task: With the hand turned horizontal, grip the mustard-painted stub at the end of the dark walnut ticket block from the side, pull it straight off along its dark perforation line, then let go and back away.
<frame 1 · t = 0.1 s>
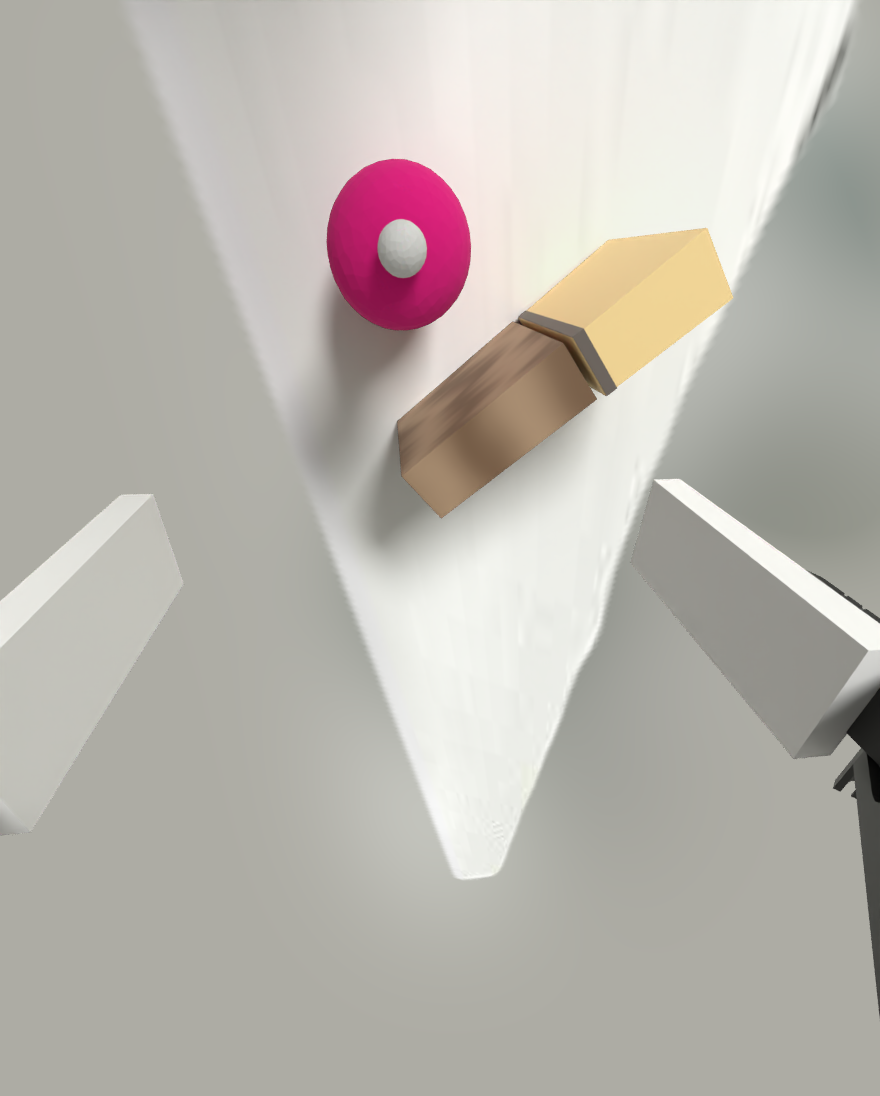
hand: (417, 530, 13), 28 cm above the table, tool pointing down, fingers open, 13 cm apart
ticket block: (467, 392, 38), on the table
pepper mill: (393, 258, 33), on the table
stub: (607, 309, 30), point 6 cm above the table, slide at 0.0 cm
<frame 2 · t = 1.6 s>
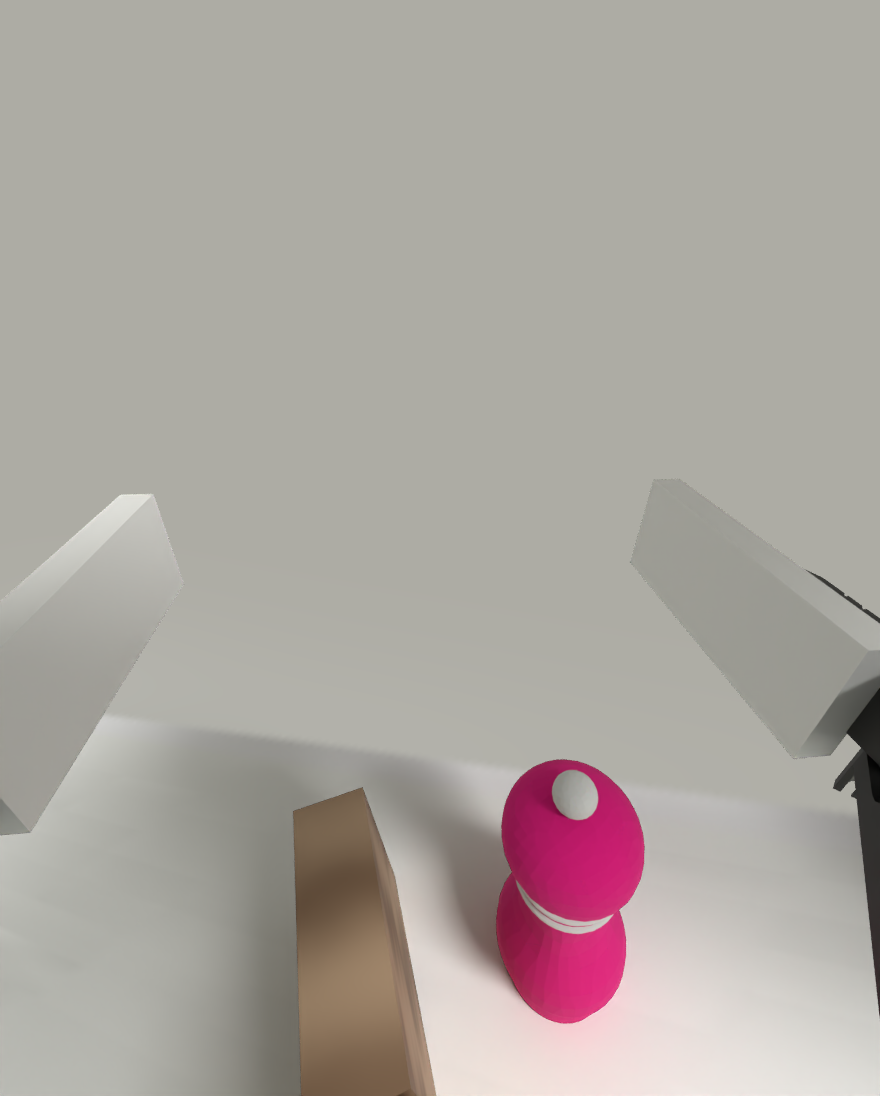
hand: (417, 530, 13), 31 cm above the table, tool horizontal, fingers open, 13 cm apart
ticket block: (383, 993, 28), on the table
pepper mill: (555, 955, 29), on the table
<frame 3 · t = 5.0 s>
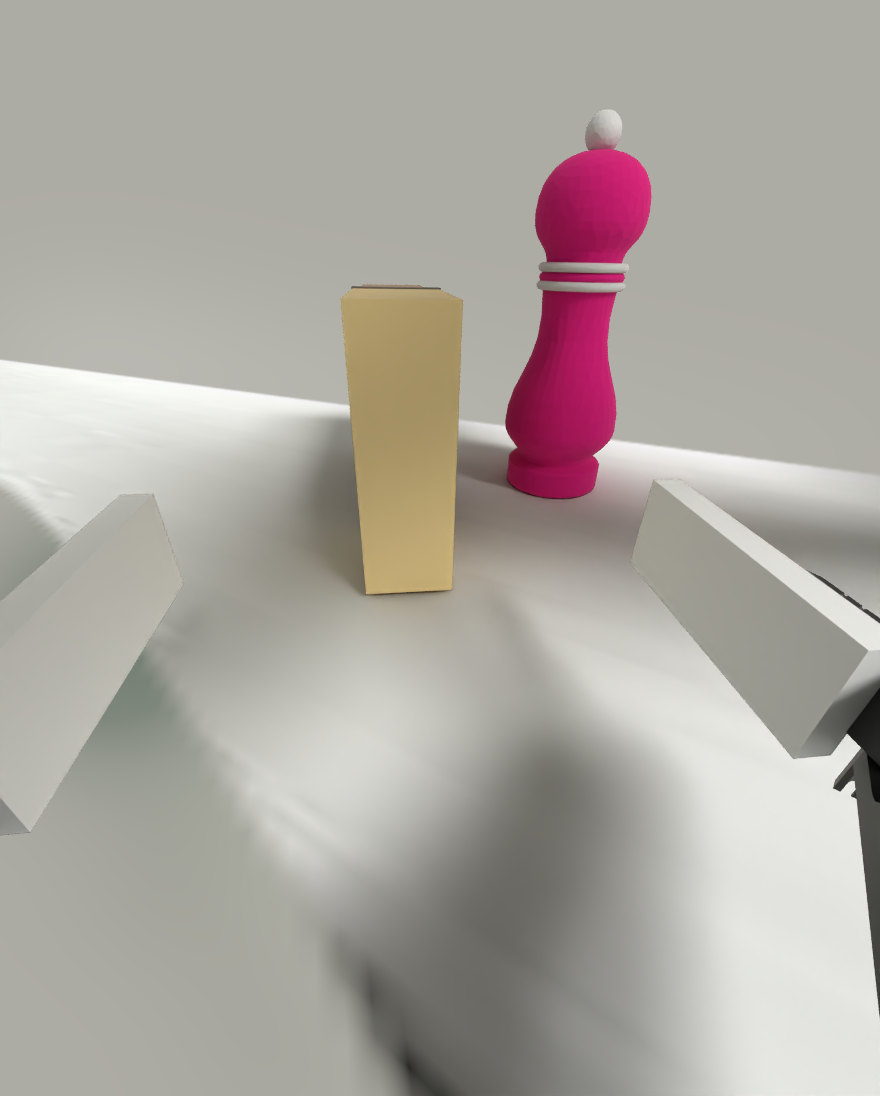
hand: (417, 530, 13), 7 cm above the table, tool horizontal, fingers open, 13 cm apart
pepper mill: (549, 483, 33), on the table
stub: (402, 438, 22), point 6 cm above the table, slide at 0.0 cm
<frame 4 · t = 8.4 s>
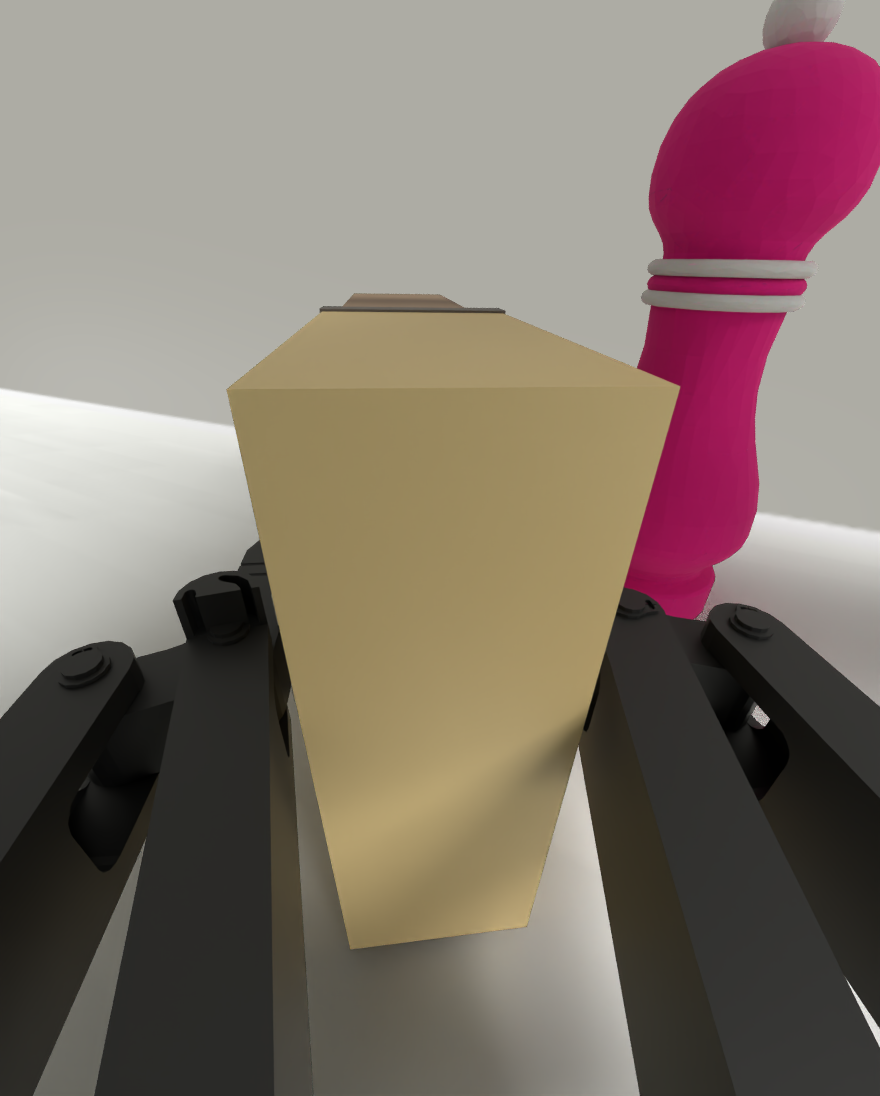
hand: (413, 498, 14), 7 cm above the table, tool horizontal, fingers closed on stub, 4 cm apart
ticket block: (408, 577, 23), on the table
pepper mill: (631, 589, 23), on the table
stub: (426, 617, 11), point 6 cm above the table, slide at 0.0 cm, touching gripper
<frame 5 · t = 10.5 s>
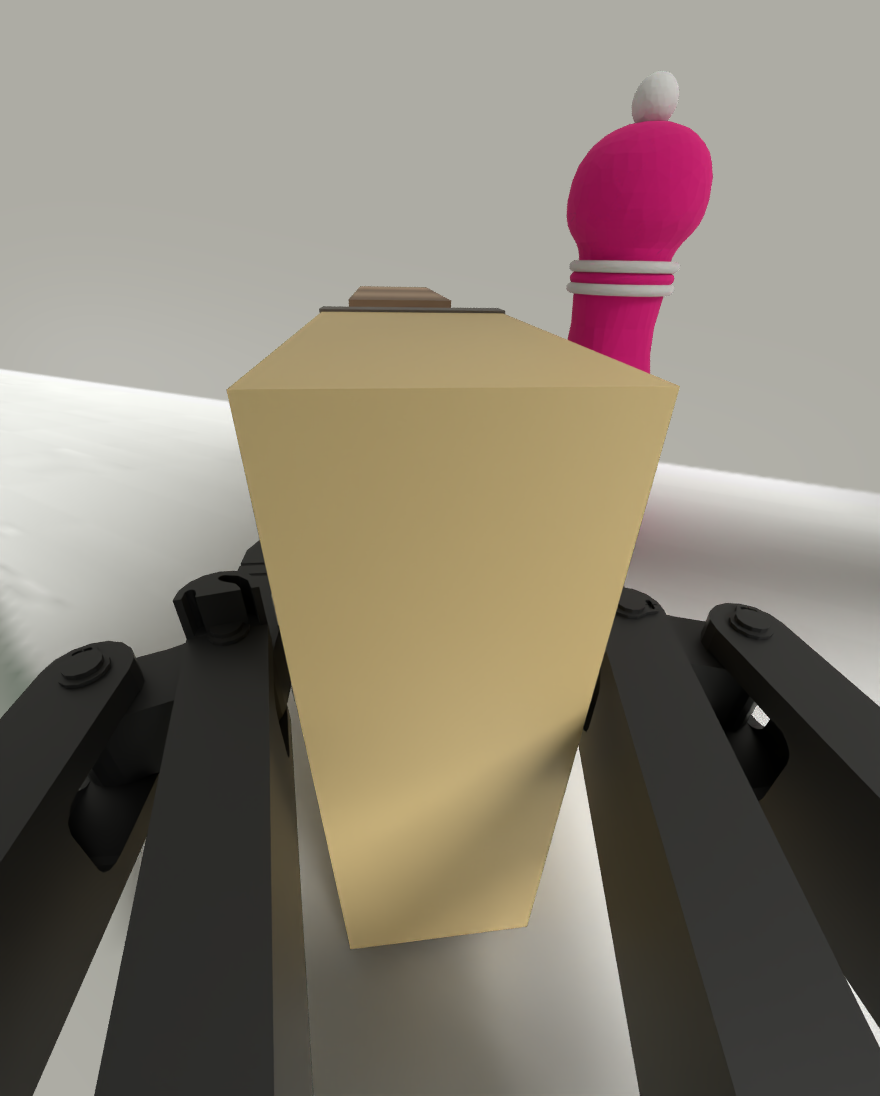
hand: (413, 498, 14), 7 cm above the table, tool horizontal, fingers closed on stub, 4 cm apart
ticket block: (402, 506, 29), on the table
pepper mill: (574, 515, 29), on the table
stub: (426, 617, 11), point 6 cm above the table, slide at 7.9 cm, touching gripper
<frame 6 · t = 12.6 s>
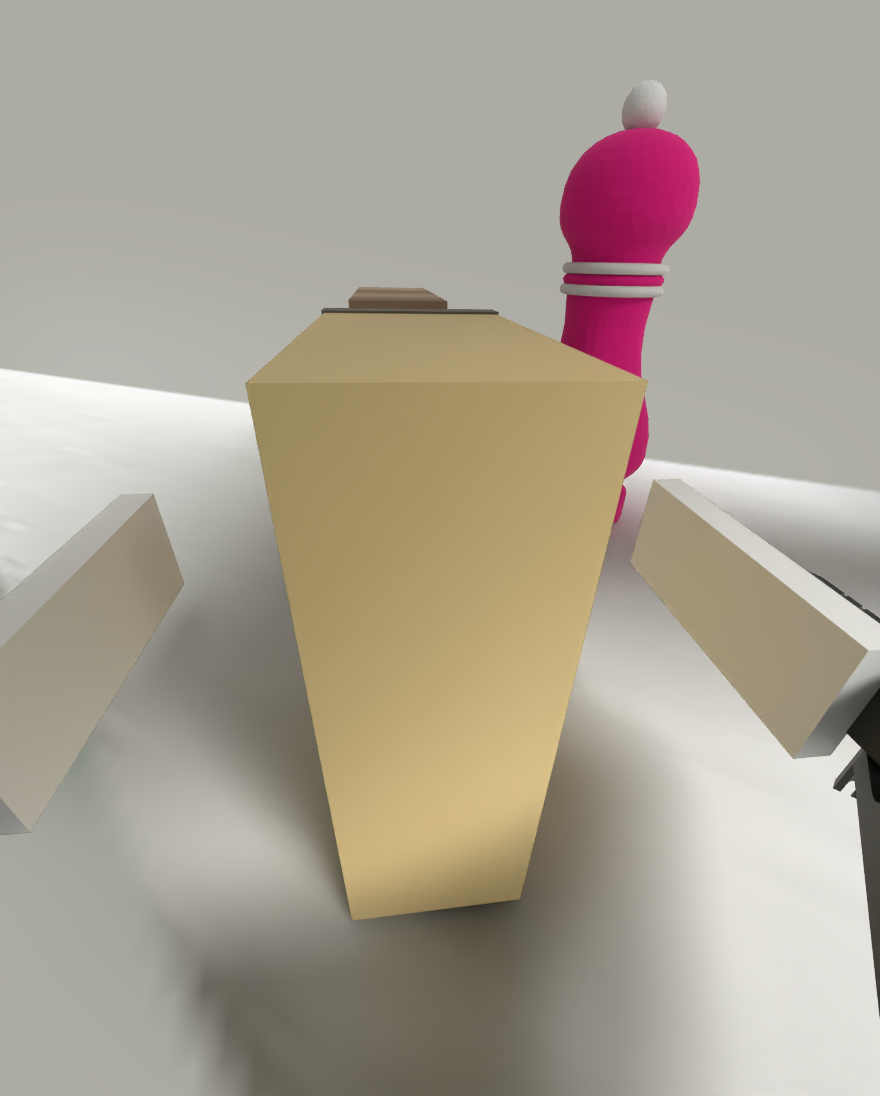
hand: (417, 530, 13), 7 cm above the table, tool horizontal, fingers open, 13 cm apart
ticket block: (400, 502, 30), on the table
pepper mill: (569, 510, 30), on the table
stub: (423, 604, 11), point 6 cm above the table, slide at 8.0 cm
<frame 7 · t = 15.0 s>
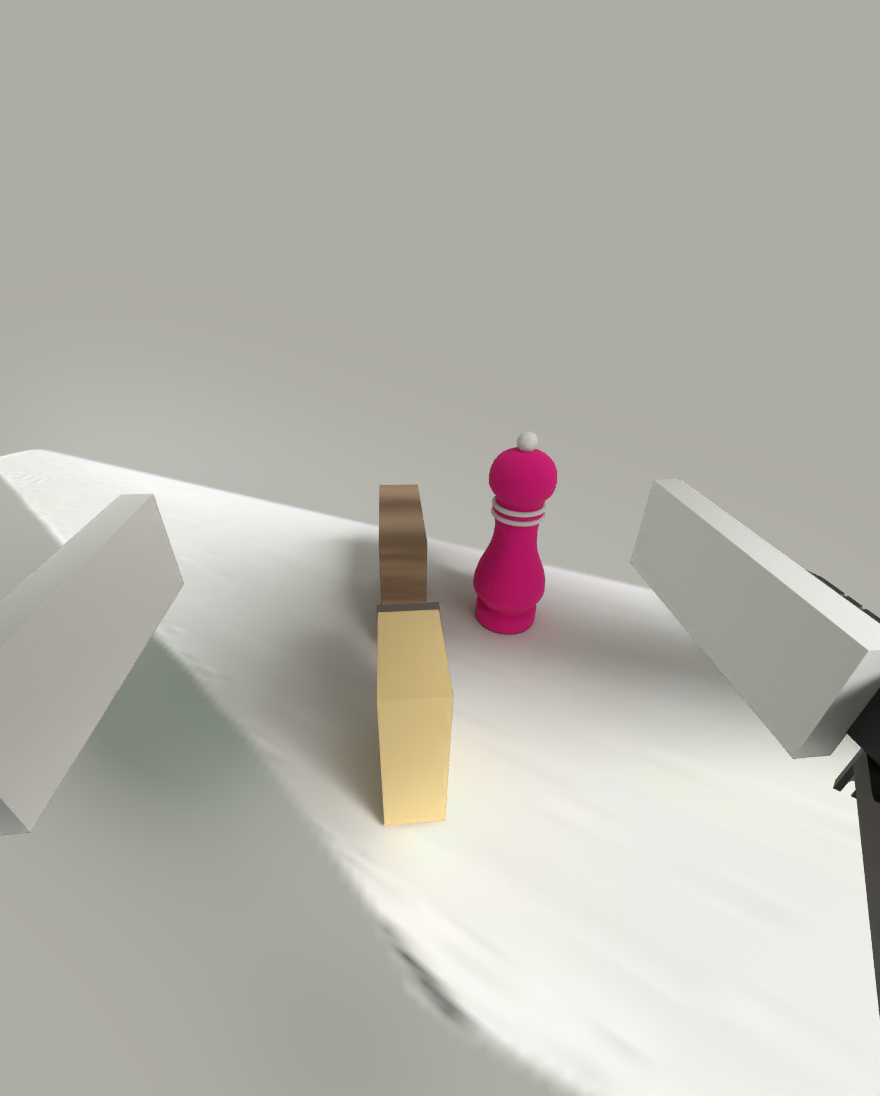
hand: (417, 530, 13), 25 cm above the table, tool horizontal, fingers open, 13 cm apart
ticket block: (402, 610, 49), on the table
pepper mill: (504, 616, 49), on the table
stub: (411, 712, 30), point 6 cm above the table, slide at 8.0 cm
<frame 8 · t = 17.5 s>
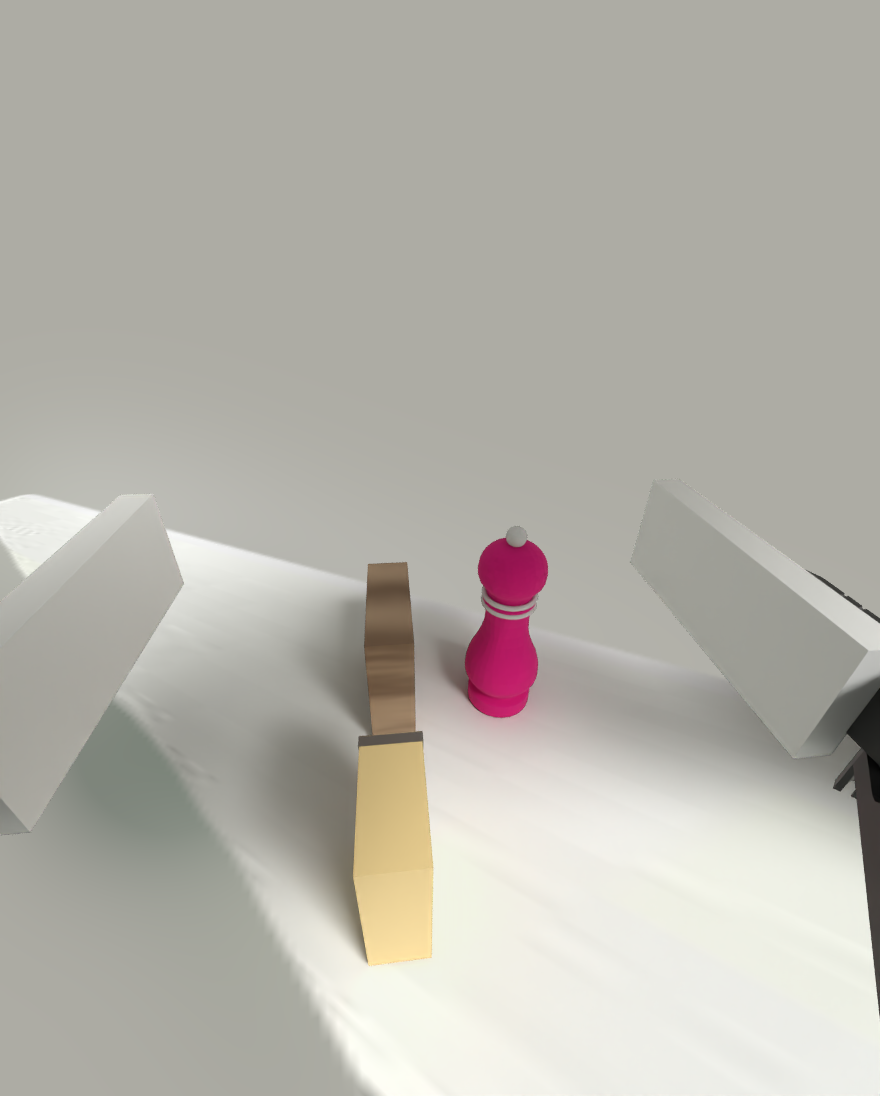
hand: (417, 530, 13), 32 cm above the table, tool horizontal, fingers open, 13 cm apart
ticket block: (393, 689, 48), on the table
pepper mill: (497, 694, 48), on the table
stub: (395, 846, 29), point 6 cm above the table, slide at 8.0 cm
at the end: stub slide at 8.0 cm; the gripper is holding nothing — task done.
